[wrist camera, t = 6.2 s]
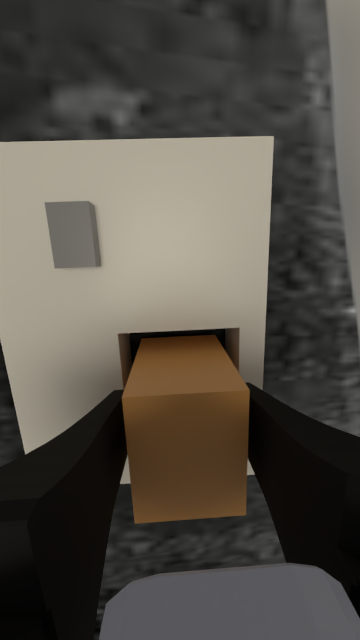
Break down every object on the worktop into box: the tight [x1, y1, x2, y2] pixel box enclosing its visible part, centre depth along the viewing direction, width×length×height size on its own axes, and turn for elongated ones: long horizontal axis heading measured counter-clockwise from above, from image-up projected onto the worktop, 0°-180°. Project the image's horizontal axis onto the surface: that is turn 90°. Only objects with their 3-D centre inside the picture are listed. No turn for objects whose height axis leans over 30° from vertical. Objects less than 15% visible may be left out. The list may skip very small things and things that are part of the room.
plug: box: [122, 335, 250, 524], centre depth 12 cm, size 5×4×7 cm
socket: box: [0, 136, 274, 484], centre depth 12 cm, size 16×12×4 cm
